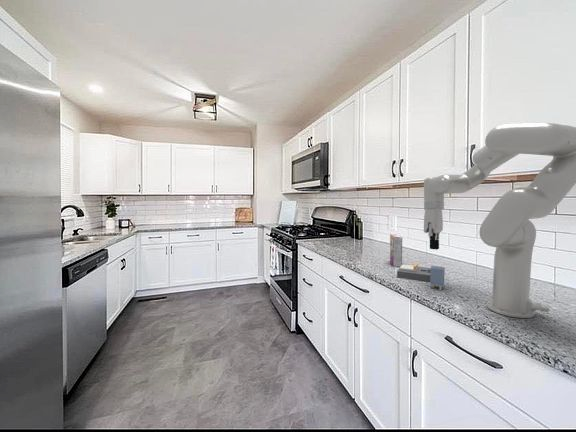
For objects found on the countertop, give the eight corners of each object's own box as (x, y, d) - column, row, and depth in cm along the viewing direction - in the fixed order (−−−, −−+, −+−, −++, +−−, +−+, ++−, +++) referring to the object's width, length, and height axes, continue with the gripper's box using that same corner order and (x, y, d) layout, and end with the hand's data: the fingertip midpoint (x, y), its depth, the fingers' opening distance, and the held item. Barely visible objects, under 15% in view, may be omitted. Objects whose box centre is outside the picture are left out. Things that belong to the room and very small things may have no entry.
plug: (444, 287, 116) (444, 267, 115) (443, 290, 112) (444, 269, 111) (430, 285, 118) (431, 265, 118) (430, 288, 115) (430, 268, 114)
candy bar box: (389, 262, 160) (389, 234, 159) (398, 262, 159) (398, 234, 158) (392, 267, 149) (393, 237, 148) (402, 267, 148) (402, 237, 147)
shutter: (417, 267, 135) (417, 263, 135) (416, 271, 128) (416, 266, 128) (402, 266, 139) (402, 261, 139) (399, 269, 132) (399, 264, 132)
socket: (437, 274, 134) (437, 268, 133) (435, 282, 122) (435, 276, 122) (401, 270, 142) (402, 264, 142) (397, 277, 130) (397, 271, 130)
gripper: (430, 206, 125) (431, 246, 126) (418, 206, 115) (418, 250, 115) (449, 205, 120) (449, 247, 120) (437, 206, 109) (438, 252, 110)
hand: (434, 248), depth 118 cm, fingers closed
